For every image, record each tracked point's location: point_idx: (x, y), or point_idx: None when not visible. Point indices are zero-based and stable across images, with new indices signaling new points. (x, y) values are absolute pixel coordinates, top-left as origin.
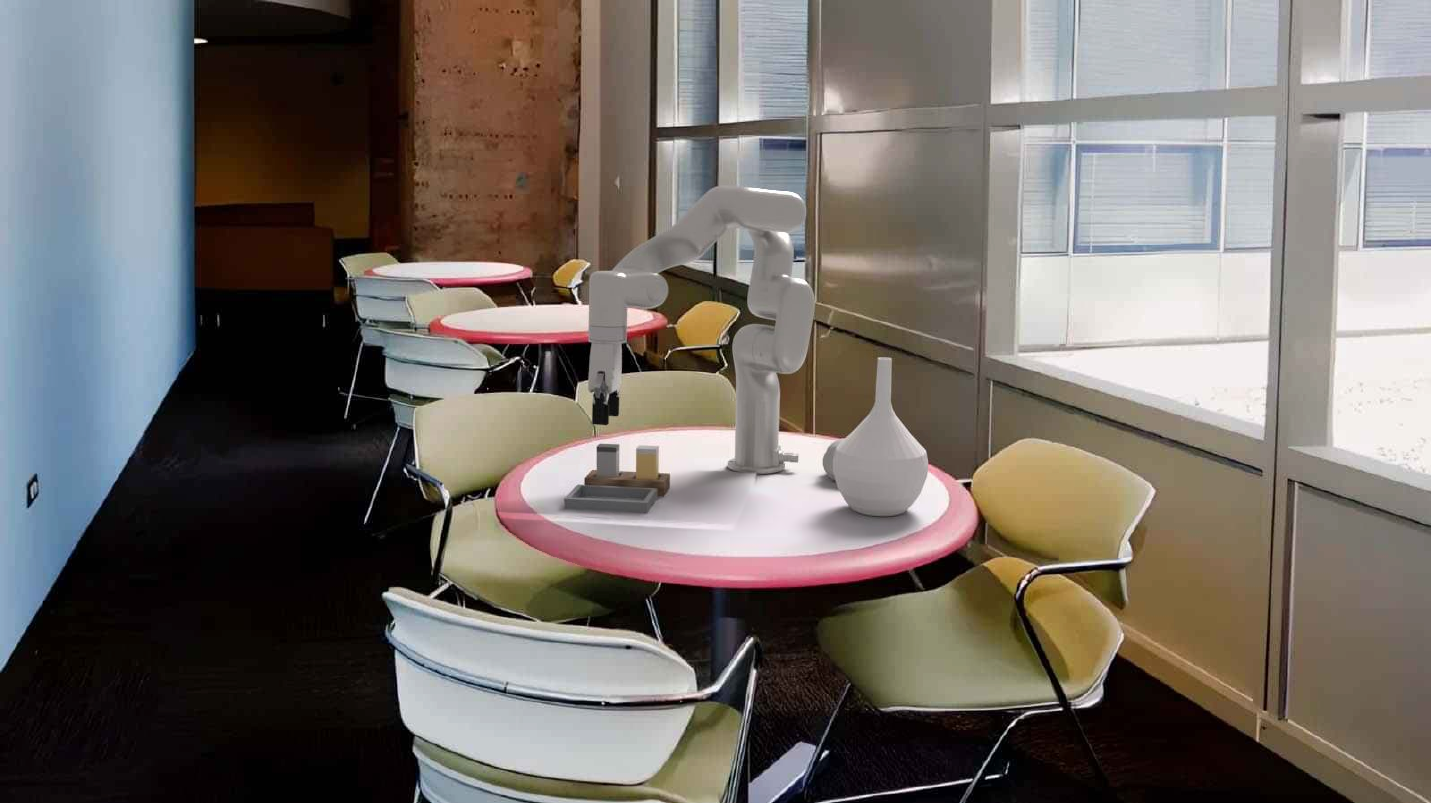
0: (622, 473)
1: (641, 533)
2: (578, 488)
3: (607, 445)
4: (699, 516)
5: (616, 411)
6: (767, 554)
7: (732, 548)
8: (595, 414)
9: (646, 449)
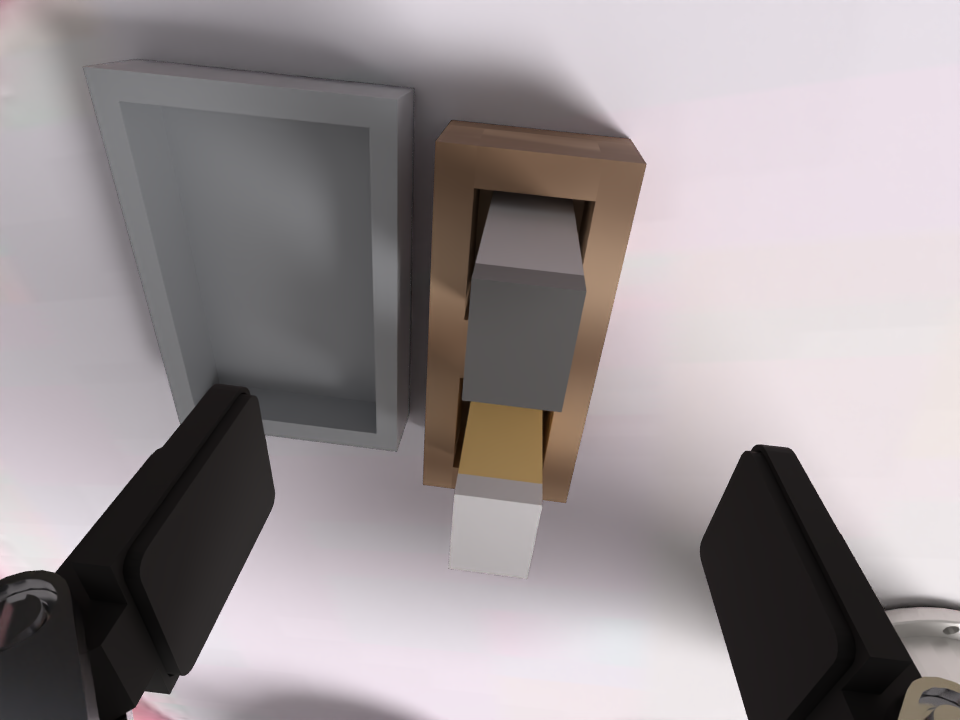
0: None
1: (39, 379)
2: (310, 118)
3: (521, 346)
4: (287, 514)
5: (710, 580)
6: None
7: (41, 561)
8: (128, 486)
9: (452, 532)
